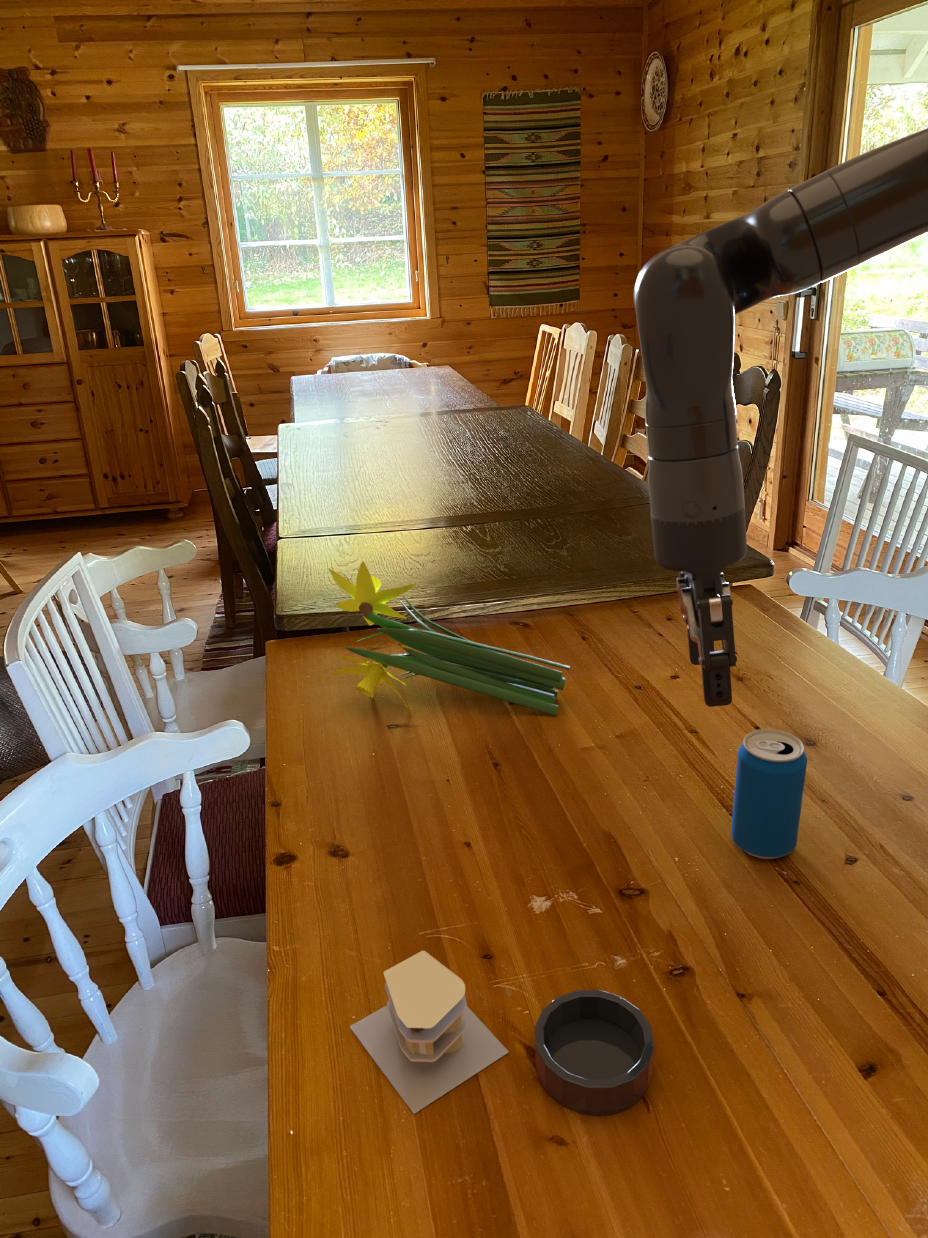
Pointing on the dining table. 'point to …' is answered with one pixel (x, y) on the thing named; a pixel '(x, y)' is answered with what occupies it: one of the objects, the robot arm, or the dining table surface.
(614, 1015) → the bowl
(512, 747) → the dining table surface
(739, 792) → the beverage can
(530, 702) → the daffodil flowers
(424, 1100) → the stacked layers on plate
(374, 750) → the dining table surface
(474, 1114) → the dining table surface
